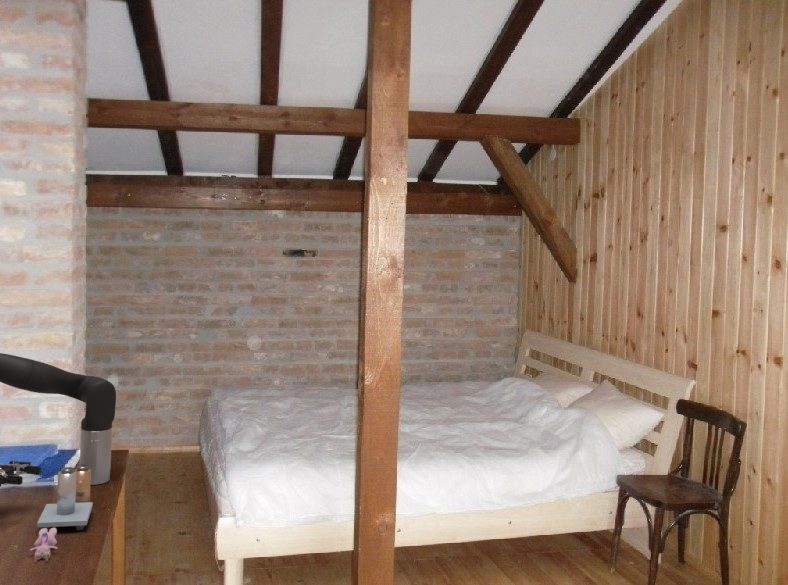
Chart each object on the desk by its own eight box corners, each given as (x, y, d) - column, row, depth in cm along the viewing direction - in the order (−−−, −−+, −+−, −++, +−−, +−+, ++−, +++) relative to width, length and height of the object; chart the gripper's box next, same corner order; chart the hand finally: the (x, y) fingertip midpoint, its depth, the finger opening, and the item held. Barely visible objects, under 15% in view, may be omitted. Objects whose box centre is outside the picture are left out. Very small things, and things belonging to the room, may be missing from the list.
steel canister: (53, 511, 197) (55, 468, 196) (71, 507, 200) (72, 465, 199) (60, 516, 193) (62, 472, 193) (77, 512, 197) (79, 469, 196)
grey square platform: (46, 515, 202) (46, 503, 202) (92, 513, 205) (92, 502, 205) (36, 534, 188) (37, 522, 188) (86, 532, 192) (86, 520, 192)
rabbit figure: (55, 567, 174) (62, 533, 188) (55, 545, 173) (62, 512, 187) (26, 569, 172) (36, 535, 186) (26, 547, 171) (36, 514, 185)
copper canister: (70, 505, 210) (71, 465, 209) (86, 502, 213) (87, 462, 212) (75, 510, 206) (77, 469, 206) (92, 507, 209) (93, 467, 209)
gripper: (-43, 465, 192) (15, 470, 190) (-8, 450, 206) (46, 454, 204) (-43, 492, 192) (15, 497, 191) (-8, 475, 206) (46, 480, 205)
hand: (31, 475), depth 198 cm, fingers open, 8 cm apart
